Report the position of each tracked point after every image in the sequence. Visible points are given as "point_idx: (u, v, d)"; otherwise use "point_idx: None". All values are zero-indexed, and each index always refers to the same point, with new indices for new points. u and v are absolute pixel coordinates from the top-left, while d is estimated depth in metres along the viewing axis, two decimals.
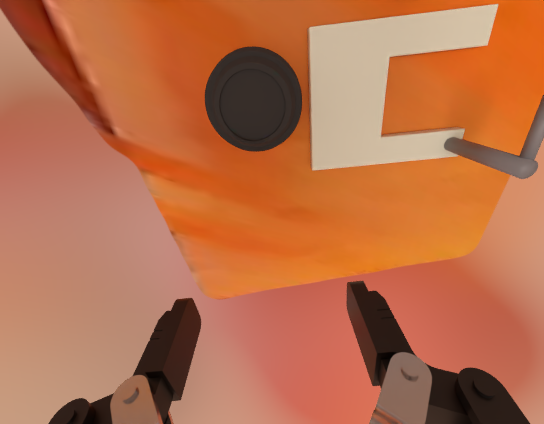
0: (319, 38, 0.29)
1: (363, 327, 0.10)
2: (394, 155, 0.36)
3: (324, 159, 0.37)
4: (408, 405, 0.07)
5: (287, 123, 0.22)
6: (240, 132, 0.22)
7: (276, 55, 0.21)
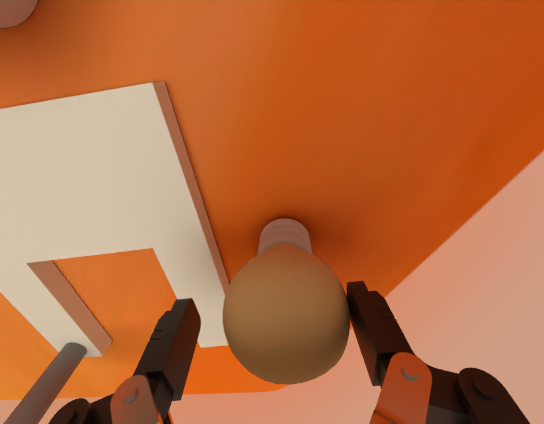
0: (138, 111, 0.13)
1: (363, 327, 0.10)
2: (11, 289, 0.19)
3: None
4: (408, 405, 0.07)
5: None
6: None
7: None
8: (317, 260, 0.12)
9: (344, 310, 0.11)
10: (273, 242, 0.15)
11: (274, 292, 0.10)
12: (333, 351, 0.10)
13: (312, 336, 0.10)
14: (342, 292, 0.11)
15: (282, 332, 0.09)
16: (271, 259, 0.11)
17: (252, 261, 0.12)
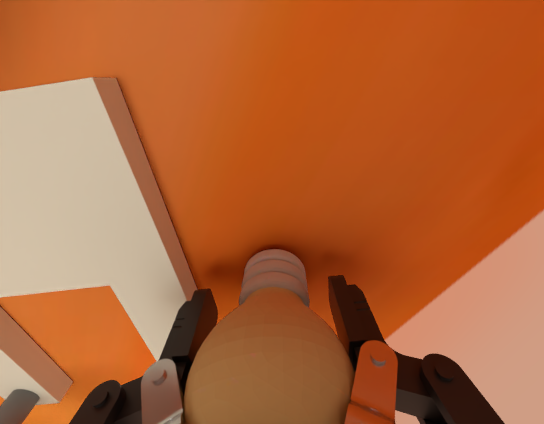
0: (77, 116, 0.10)
1: (340, 318, 0.10)
2: None
3: None
4: (379, 390, 0.07)
5: None
6: None
7: None
8: (316, 324, 0.09)
9: None
10: (259, 285, 0.12)
11: (253, 390, 0.07)
12: None
13: None
14: (350, 374, 0.08)
15: None
16: (251, 327, 0.08)
17: (227, 325, 0.09)
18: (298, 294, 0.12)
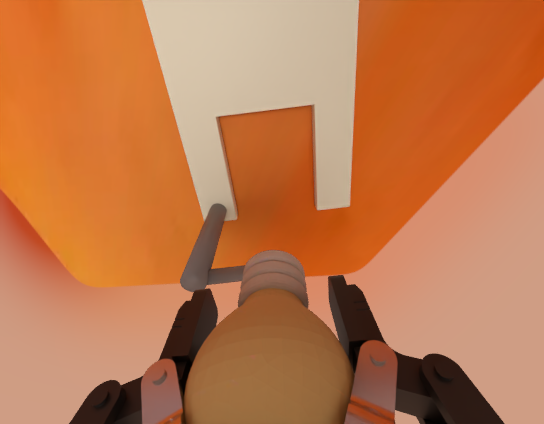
0: None
1: (340, 318, 0.10)
2: (193, 144, 0.25)
3: (166, 18, 0.21)
4: (379, 390, 0.07)
5: None
6: None
7: None
8: (315, 325, 0.09)
9: None
10: (258, 286, 0.12)
11: (253, 392, 0.07)
12: None
13: None
14: (350, 374, 0.08)
15: None
16: (251, 329, 0.08)
17: (226, 327, 0.09)
18: (297, 295, 0.12)
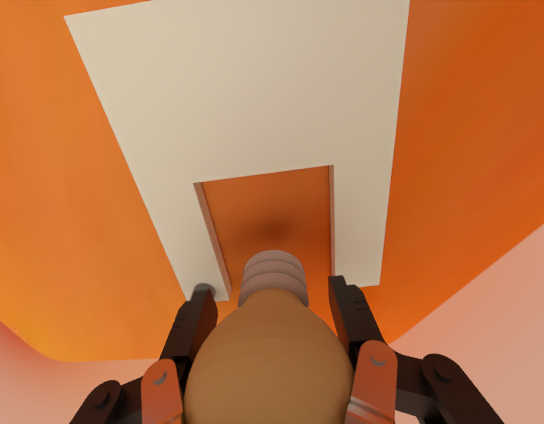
0: None
1: (340, 318, 0.10)
2: (164, 216, 0.18)
3: (108, 53, 0.13)
4: (379, 390, 0.07)
5: None
6: None
7: None
8: (316, 325, 0.09)
9: None
10: (258, 286, 0.12)
11: (253, 392, 0.07)
12: None
13: None
14: (351, 374, 0.08)
15: None
16: (251, 328, 0.08)
17: (226, 327, 0.09)
18: (297, 295, 0.12)
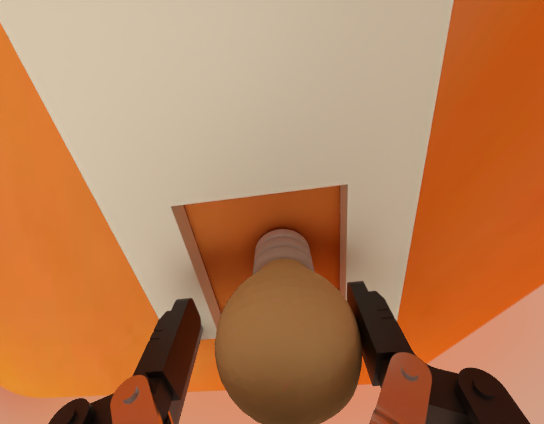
0: None
1: (363, 327, 0.10)
2: (138, 246, 0.15)
3: (48, 39, 0.10)
4: (408, 405, 0.07)
5: None
6: None
7: None
8: (324, 281, 0.11)
9: (357, 341, 0.09)
10: (271, 257, 0.14)
11: (278, 324, 0.08)
12: (346, 391, 0.09)
13: (323, 377, 0.08)
14: (353, 318, 0.10)
15: (288, 374, 0.08)
16: (272, 281, 0.10)
17: (250, 283, 0.10)
18: (305, 265, 0.14)
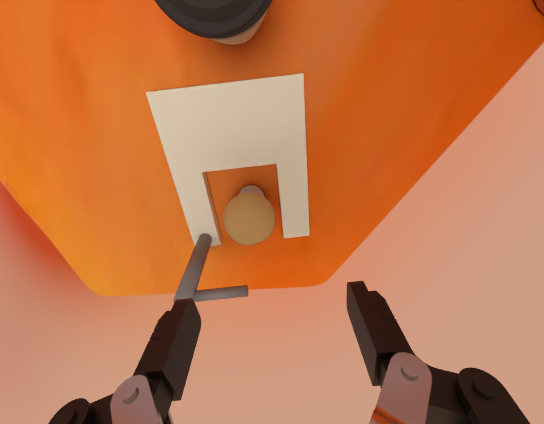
0: (293, 86, 0.28)
1: (363, 327, 0.10)
2: (185, 191, 0.33)
3: (164, 108, 0.28)
4: (408, 406, 0.07)
5: (183, 4, 0.14)
6: None
7: None
8: (262, 196, 0.29)
9: (271, 212, 0.28)
10: None
11: (244, 202, 0.27)
12: (266, 225, 0.27)
13: (257, 217, 0.27)
14: (271, 207, 0.29)
15: (246, 215, 0.26)
16: (243, 194, 0.28)
17: (235, 196, 0.29)
18: None
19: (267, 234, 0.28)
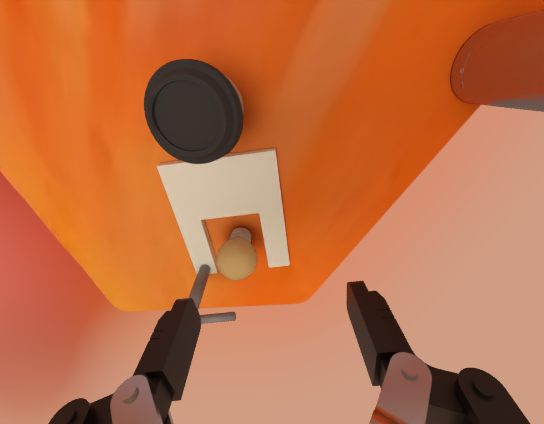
0: (268, 159, 0.36)
1: (363, 327, 0.10)
2: (188, 233, 0.42)
3: (170, 176, 0.37)
4: (408, 405, 0.07)
5: (179, 154, 0.23)
6: (159, 103, 0.21)
7: (237, 137, 0.23)
8: (246, 241, 0.38)
9: (252, 256, 0.36)
10: (234, 236, 0.41)
11: (231, 249, 0.36)
12: (248, 266, 0.36)
13: (241, 261, 0.35)
14: (253, 251, 0.37)
15: (232, 259, 0.35)
16: (231, 241, 0.37)
17: (225, 242, 0.38)
18: (246, 239, 0.41)
19: (250, 272, 0.37)
